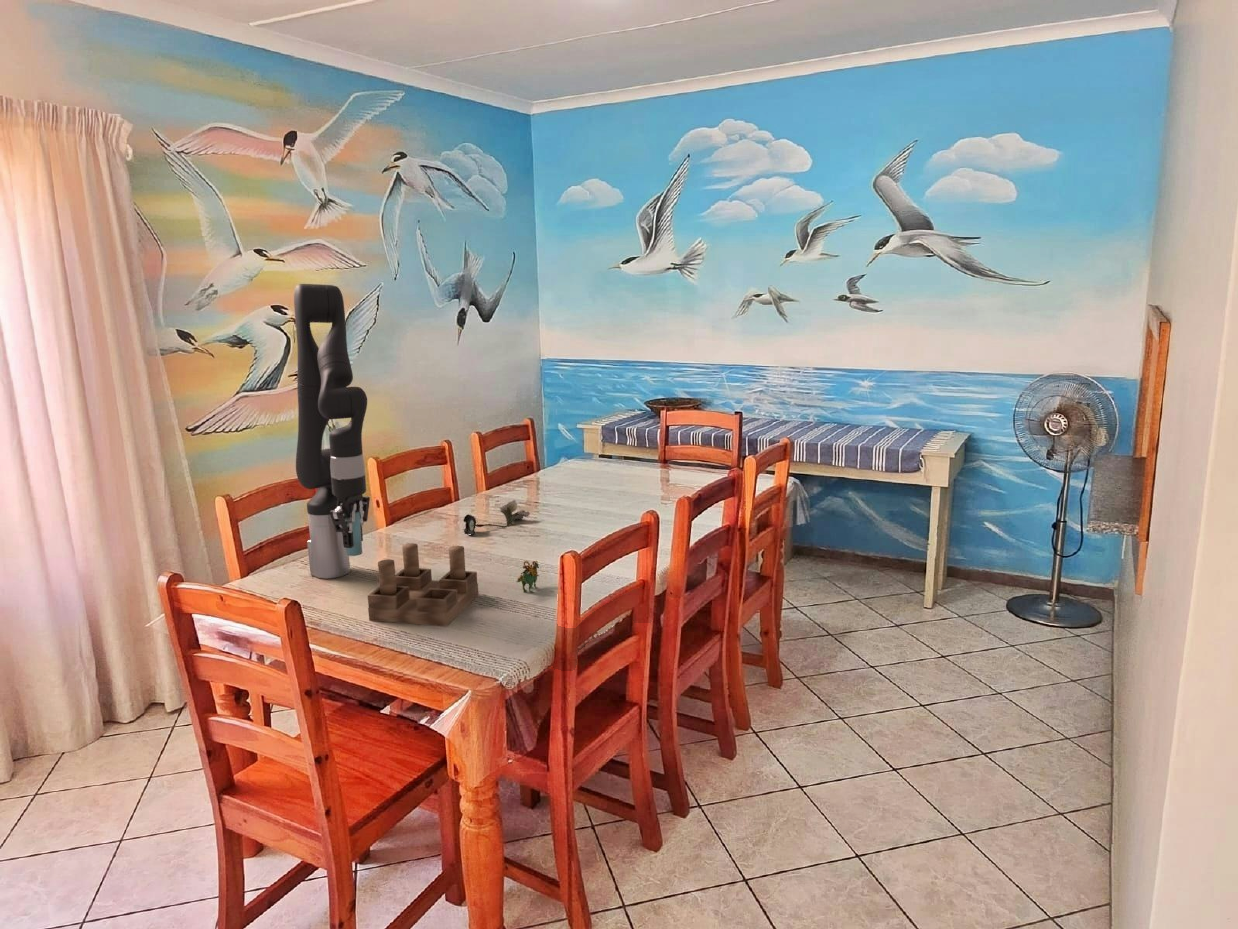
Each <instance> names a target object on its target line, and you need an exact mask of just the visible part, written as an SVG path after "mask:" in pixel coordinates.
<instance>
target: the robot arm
mask: <svg viewBox="0 0 1238 929" xmlns="http://www.w3.org/2000/svg"><path fill="white" fill-rule="evenodd" d="M294 288H295V289H294V294H293V308H294V317H295V318H294V322H295V332H296V333H295V334H296V345H297V373H296V374H297V380H296V383H297V404H298V406H297V407H298V408H297V409H298V410H297V411H298V413H297V414H298V416H297V417H298V420H297V421H298V424H297V425H298V427H297V442H296V445H297V446H296V456H295V472H296V473H295V474H296V477H297V480H298V481H299V483H300V484H301V486H302V487H303V488H305V489H307V490H315V489H317V490H316V491H315V493H314V495H313V496H312V497H310V499H309V500H308V501H307V503H306V511H307V512H306V513H307V521H308V530H309V539H308V540H306V541H307V542H306V543H307V553H308V554H307V555H308V563H309V573H310V576H312V575H314V576H313V577H315V578H318V579H335V578H336V579H337V578H341V577H343V576H345V575H348V574H349V573H350V572H351V562H350V556H348V555H346V548H352V547H353V546H354V544H353V532H352V525H353V523H354V522H355V513H356V512H359V514H360V527H361V541H362V542H363V541H364V538H363V535H364V534H363V527H364V524H365V522H368V518H369V510H370V509H369V508H370V502H371V500H370V499H371V497H370V496H363V495H364V494H365V493H366V492H367V481H366V468H365V467H366V466H365V460H364V455H363V453H364V452H363V439H362V438H363V437H362V435H363V434H362V433H363V425H364V420H365V416H366V412H367V408H368V397H367V394H366V391H364V390H363V388H361V387H359V386H350V385H351V384H352V383H353V381H354V380H353V379H354V375H353V370H352V365H351V362H350V361H351V360H350V357H349V352H348V343H347V341H348V340H347V325H346V314H345V304H344V303H345V302H344V297H343V293H342V290H341V289H340V288H339V287H338V286H337V285H333V284H319V283H318V284H317V283H314V284H313V283H299V284H297V285H296V286H295V287H294ZM311 323H314V324H315V323H321V324H322V323H323V324H325V323H326V324H331V327H330V330H329V332H328V333H327V335H326V336H325V338H324V340H323V341H322V342H321V344H320V345H319V346H318V343H317V342H316V341H315V338H314V336H313V333H312V330H311V329H312V328H311ZM342 419H343V420H344V419H350V421H349V423H348V424H346V425H345V426H342V427H338V428H335V429H333V430H331V431H330V432H329V436H328V437H329V438H328V441H329V442H328V443H329V448H324V449H322V448H323V445H322V444H323V436H324V433H325V431H326V428H327V425H328V423H329V421H330V420H342ZM344 517H348V518H350V519H344ZM346 523H348V528H347V525H346Z"/></svg>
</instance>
